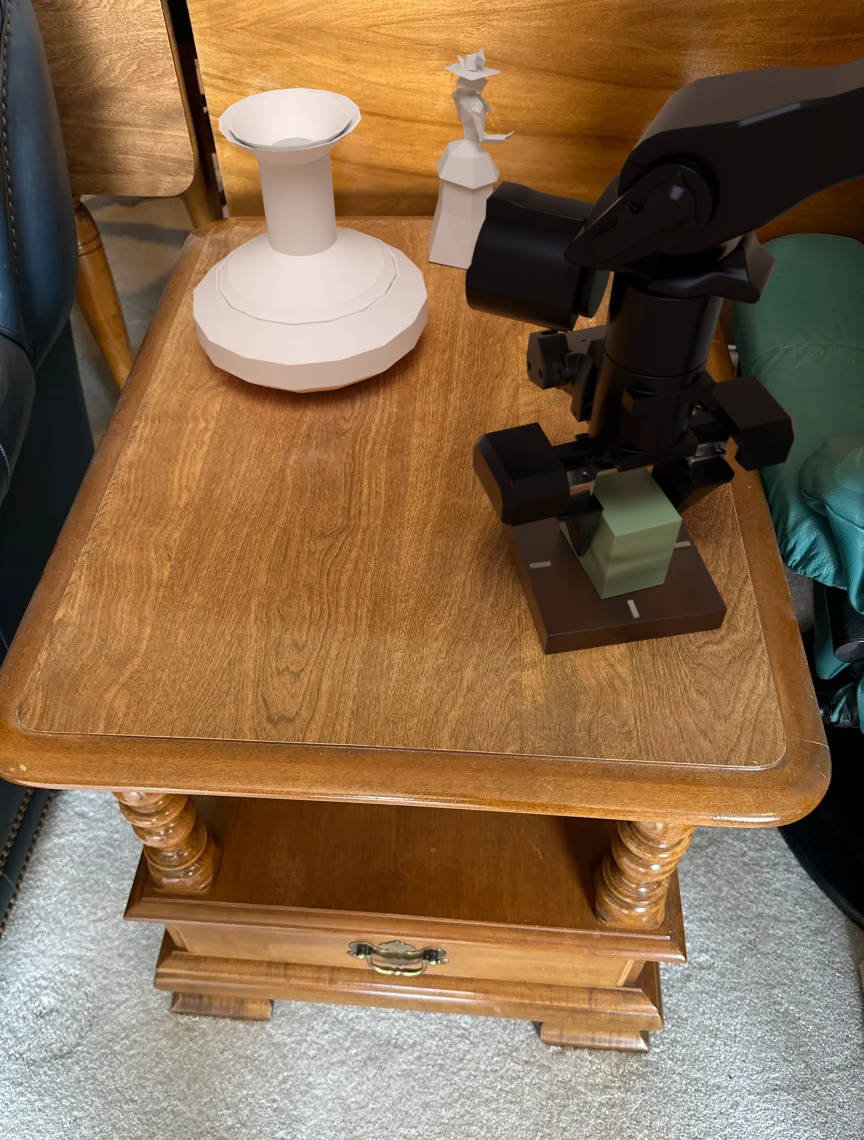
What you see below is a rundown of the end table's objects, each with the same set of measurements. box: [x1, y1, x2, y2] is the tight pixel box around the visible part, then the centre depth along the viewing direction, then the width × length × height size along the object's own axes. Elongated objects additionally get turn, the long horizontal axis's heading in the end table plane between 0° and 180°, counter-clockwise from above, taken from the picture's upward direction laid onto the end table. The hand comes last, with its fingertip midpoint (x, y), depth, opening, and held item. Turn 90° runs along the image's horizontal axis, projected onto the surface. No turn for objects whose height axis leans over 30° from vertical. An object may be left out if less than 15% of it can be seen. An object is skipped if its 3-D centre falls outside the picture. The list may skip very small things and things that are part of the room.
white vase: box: [192, 87, 429, 394], centre depth 77 cm, size 20×20×19 cm
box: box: [560, 467, 683, 599], centre depth 63 cm, size 7×4×6 cm, turn 16°
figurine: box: [427, 47, 516, 270], centre depth 86 cm, size 7×8×18 cm
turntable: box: [501, 514, 728, 656], centre depth 66 cm, size 12×12×2 cm
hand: (611, 543), depth 64 cm, fingers closed on box, 4 cm apart
